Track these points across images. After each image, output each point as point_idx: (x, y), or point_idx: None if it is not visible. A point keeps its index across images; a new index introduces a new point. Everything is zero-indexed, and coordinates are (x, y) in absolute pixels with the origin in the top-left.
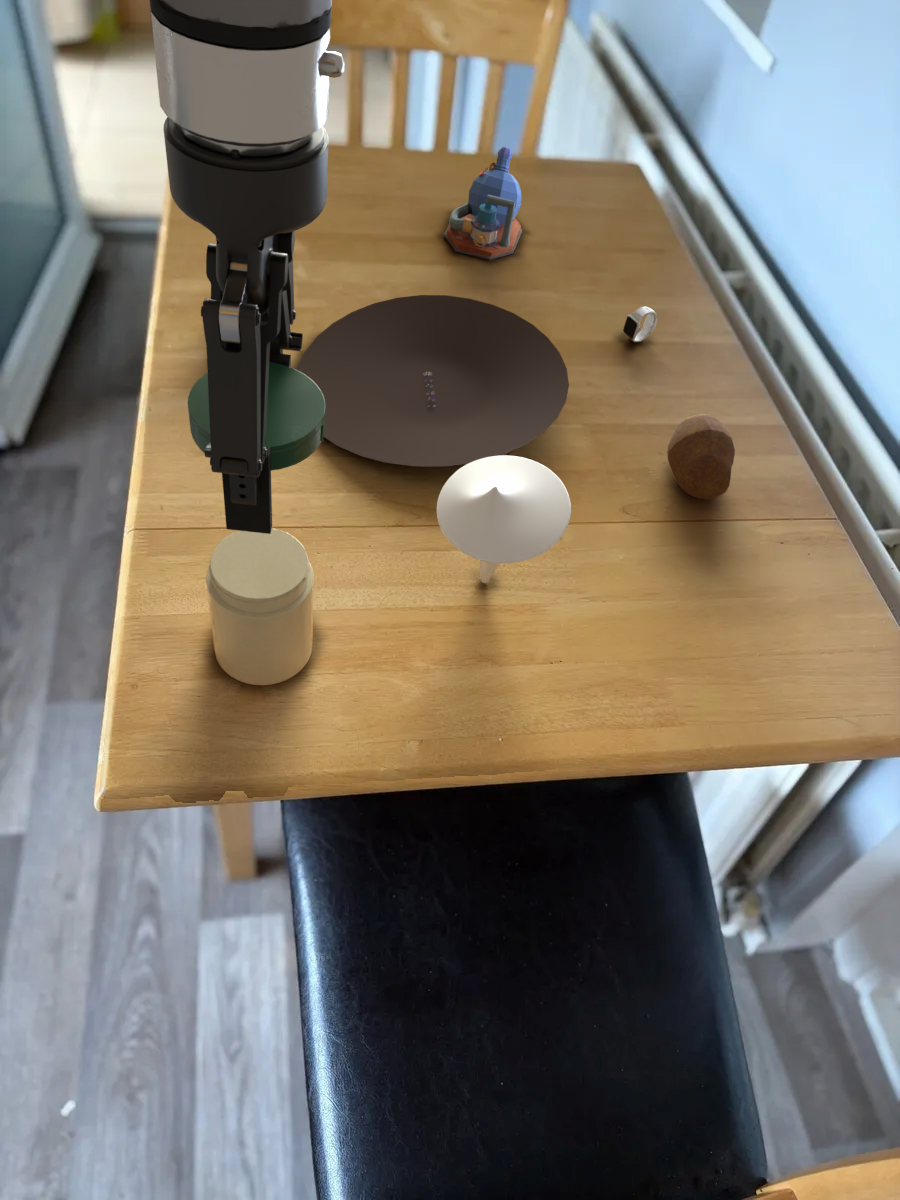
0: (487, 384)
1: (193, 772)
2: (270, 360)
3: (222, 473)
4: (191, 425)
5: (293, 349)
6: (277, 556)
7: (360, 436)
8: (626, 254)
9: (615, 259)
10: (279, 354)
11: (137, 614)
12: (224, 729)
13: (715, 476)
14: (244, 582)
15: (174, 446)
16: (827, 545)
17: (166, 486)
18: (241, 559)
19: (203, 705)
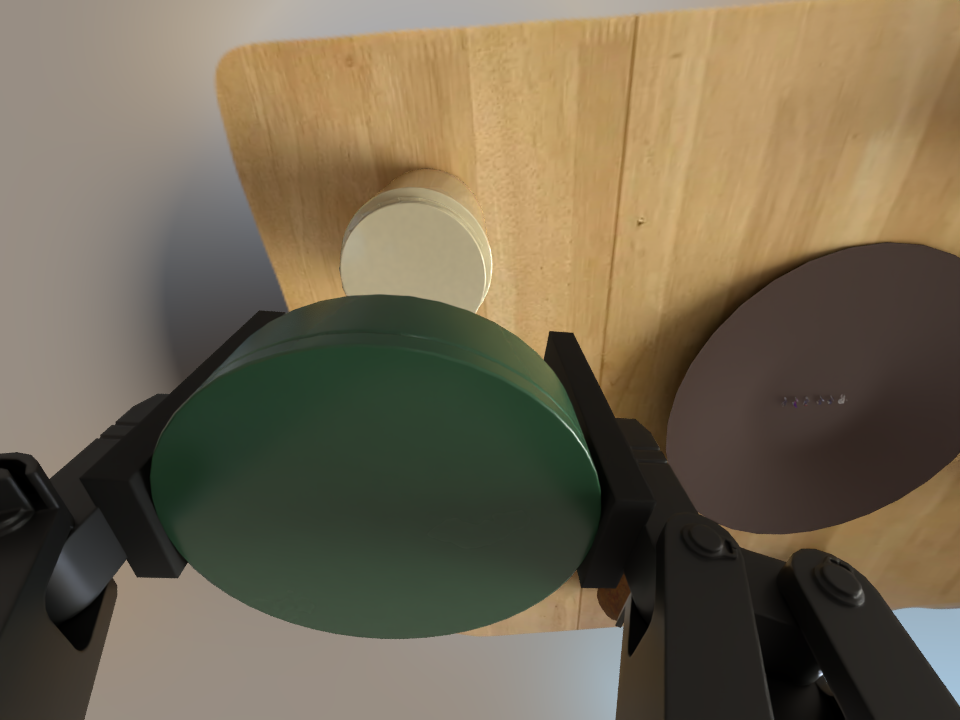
0: (799, 453)
1: (246, 160)
2: (592, 552)
3: (155, 409)
4: (269, 336)
5: (621, 613)
6: None
7: (751, 330)
8: (956, 570)
9: (953, 562)
10: (618, 570)
11: (469, 45)
12: (310, 192)
13: (607, 609)
14: (368, 260)
15: (813, 58)
16: (552, 625)
17: (723, 56)
18: (415, 252)
19: (337, 163)
